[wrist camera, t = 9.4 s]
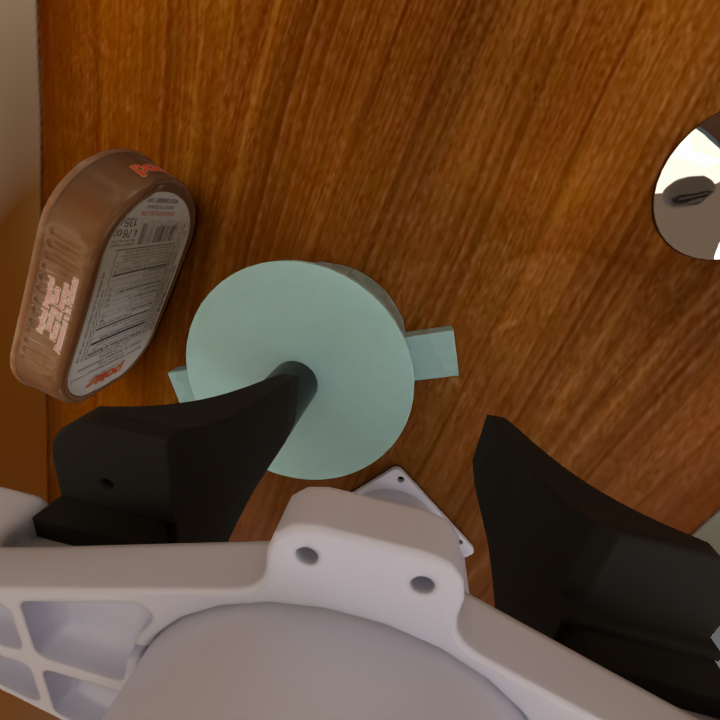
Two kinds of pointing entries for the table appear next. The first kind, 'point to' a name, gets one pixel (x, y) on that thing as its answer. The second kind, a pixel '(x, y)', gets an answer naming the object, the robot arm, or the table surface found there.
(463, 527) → the table surface
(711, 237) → the wine glass
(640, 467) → the table surface
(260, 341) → the lid
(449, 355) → the pot
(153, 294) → the tin
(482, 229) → the table surface
